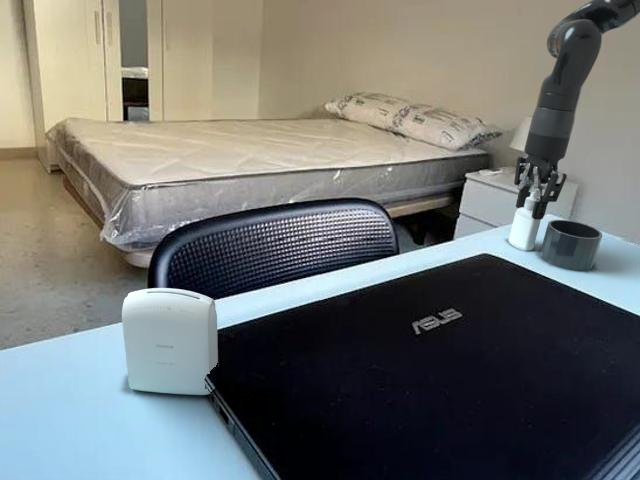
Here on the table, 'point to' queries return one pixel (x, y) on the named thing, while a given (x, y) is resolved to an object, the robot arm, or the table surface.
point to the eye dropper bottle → (525, 226)
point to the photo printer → (169, 340)
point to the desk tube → (570, 245)
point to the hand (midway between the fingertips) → (528, 213)
